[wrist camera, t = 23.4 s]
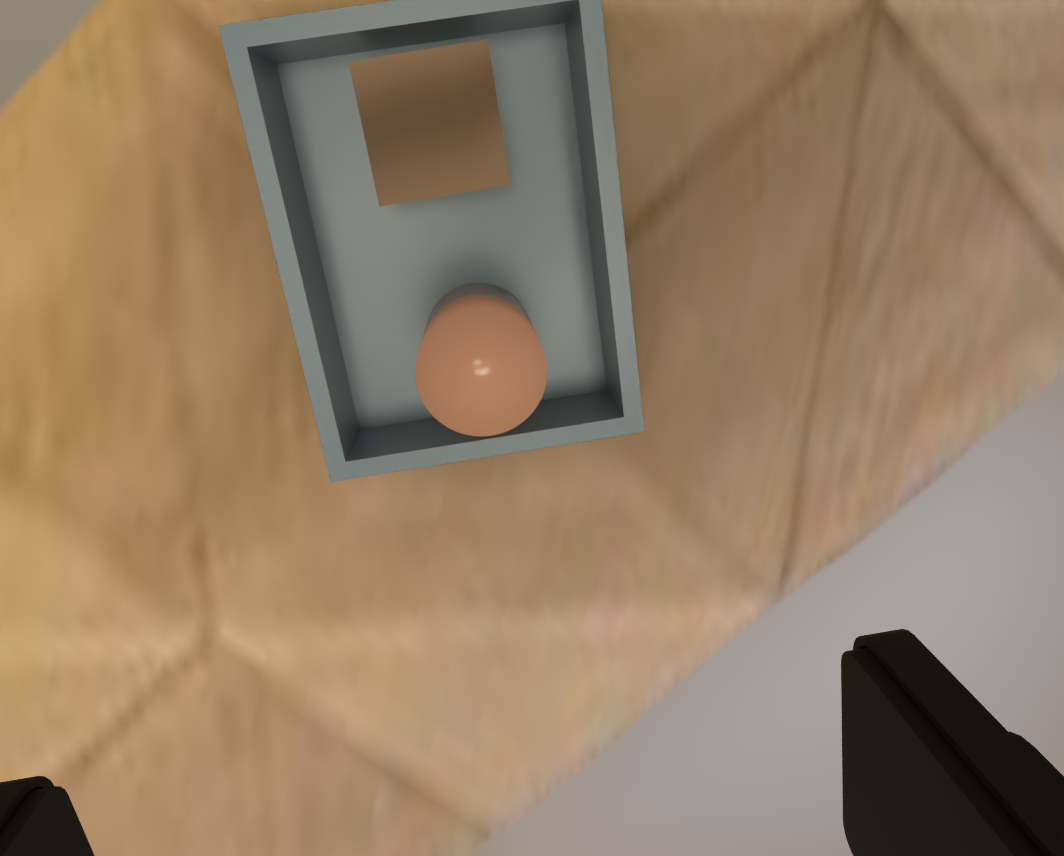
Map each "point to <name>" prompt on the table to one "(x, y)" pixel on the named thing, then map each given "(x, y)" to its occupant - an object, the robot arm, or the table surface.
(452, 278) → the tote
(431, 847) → the table surface
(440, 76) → the walnut cube
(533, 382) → the salmon orange cylinder
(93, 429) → the table surface
